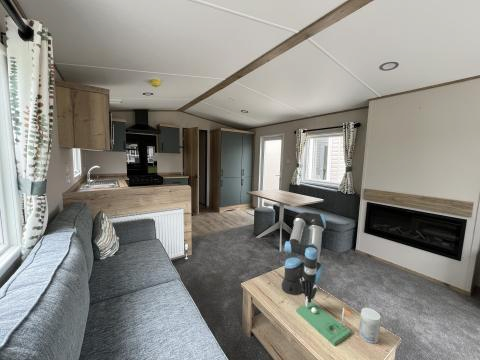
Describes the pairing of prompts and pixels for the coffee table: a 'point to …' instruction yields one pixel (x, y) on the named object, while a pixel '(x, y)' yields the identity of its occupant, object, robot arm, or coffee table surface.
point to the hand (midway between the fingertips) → (307, 305)
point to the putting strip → (325, 323)
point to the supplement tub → (370, 325)
